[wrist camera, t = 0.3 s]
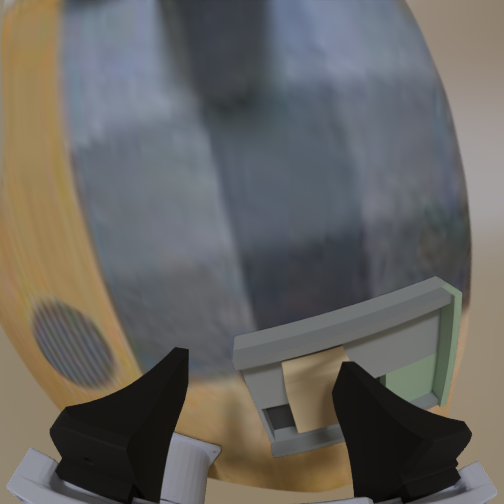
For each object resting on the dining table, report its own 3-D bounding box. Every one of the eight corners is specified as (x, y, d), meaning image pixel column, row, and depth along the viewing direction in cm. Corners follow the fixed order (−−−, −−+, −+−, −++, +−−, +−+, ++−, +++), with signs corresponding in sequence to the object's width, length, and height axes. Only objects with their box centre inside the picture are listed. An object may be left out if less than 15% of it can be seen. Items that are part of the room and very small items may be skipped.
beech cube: (338, 337, 20) (356, 373, 16) (344, 379, 21) (359, 416, 17) (280, 353, 20) (286, 393, 16) (291, 394, 22) (298, 433, 17)
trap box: (436, 276, 21) (462, 292, 17) (429, 382, 24) (446, 403, 20) (234, 336, 22) (231, 366, 18) (271, 433, 26) (274, 461, 22)
